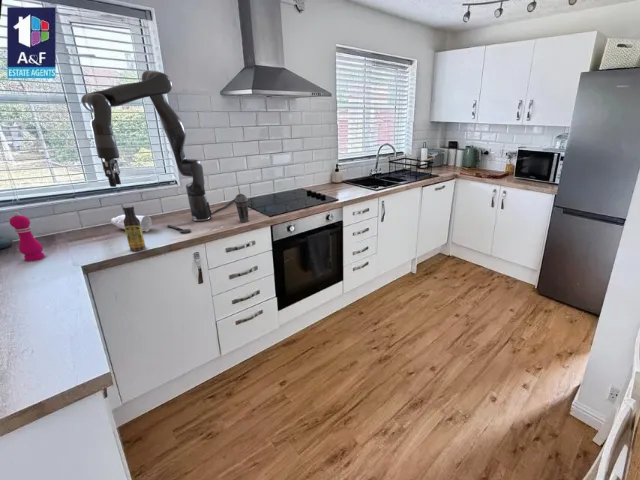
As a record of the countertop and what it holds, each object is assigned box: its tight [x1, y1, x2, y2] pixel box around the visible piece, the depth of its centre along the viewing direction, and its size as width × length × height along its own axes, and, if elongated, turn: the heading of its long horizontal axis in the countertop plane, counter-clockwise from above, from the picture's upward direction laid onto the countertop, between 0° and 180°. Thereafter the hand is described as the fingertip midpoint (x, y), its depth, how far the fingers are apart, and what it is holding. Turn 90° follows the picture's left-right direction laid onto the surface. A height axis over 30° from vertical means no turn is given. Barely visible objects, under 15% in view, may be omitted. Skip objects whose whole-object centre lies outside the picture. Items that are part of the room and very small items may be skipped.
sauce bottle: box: [122, 205, 146, 252], centre depth 165 cm, size 7×6×20 cm
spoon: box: [167, 224, 192, 235], centre depth 195 cm, size 5×18×1 cm, turn 60°
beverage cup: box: [234, 186, 249, 223], centre depth 208 cm, size 7×7×20 cm
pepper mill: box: [9, 211, 46, 262], centre depth 151 cm, size 7×7×20 cm
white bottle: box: [110, 214, 153, 232], centre depth 191 cm, size 8×19×8 cm, turn 83°
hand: (115, 185), depth 163 cm, fingers open, 8 cm apart
